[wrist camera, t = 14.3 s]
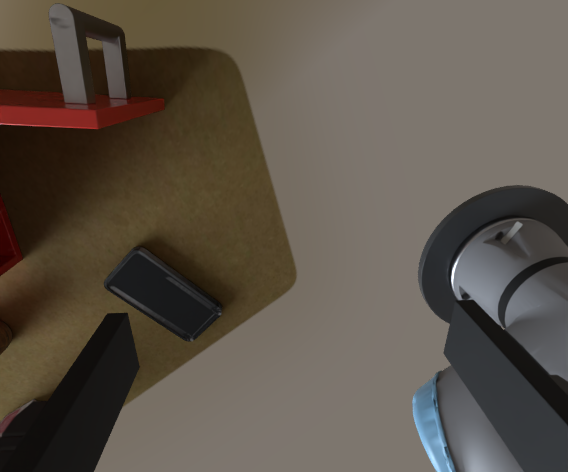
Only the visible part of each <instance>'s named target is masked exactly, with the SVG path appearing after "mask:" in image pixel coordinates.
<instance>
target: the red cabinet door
mask: <svg viewBox="0 0 568 472" xmlns="http://www.w3.org/2000/svg"><path fill="white" fill-rule="evenodd" d="M49 20H50V25H51V31H52V36H53V41H54V47H55V52H56V58H57V63H58V68H59V74H60V79H61V85H62V90H63V93H59V92H42V91H24V90H6V89H0V124H2V125H23V126H44V127H65V128H86V129H100V128H103V127H107V126H110V125H114V124H117V123H120V122H124V121H127V120H131V119H134V118H138V117H141V116H144V115H148V114H151V113H155V112H158V111H162V110H165V105H164V98H149V97H132V96H131V87H130V78H129V69H128V60H127V51H126V43H125V34H124V32H123V30H122V29H121V28H120V27H119V26H116V25H114V24H111V23H109V22H106V21H104V20H101V19H98V18H96V17H94V16H91V15H89V14H86V13H84V12H81V11H78V10H76V9H73V8H71V7H68V6H66V5H63V4H59V3H57V4H54V5H52V6H51V7H50V9H49ZM86 37H89V38H92V39H96V40H100V41H102V45H103V53H104V60H105V67H106V75H107V82H108V89H109V95H95V93H94V87H93V80H92V74H91V67H90V61H89V54H88V47H87V41H86Z"/></svg>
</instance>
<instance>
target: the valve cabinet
mask: <svg viewBox="0 0 568 472" xmlns="http://www.w3.org/2000/svg"><path fill="white" fill-rule="evenodd" d="M22 259H23V257H22V254H21V251H20V248H19V245H18V242H17V240H16V237H15V234H14V231H13V228H12V225H11V222H10V220H9V217H8V214H7V211H6V208H5V205H4V202H3V200H2V197H1V194H0V276H1V275H3V274H4V273H5V272H7V271H8V270H9V269H11V268H12V267H13V266H15V265H16V264H17V263H18V262H20V261H21V260H22Z"/></svg>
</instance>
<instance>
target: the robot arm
mask: <svg viewBox="0 0 568 472" xmlns="http://www.w3.org/2000/svg"><path fill="white" fill-rule="evenodd" d="M448 280H449V286H450V289H451V291H452V293H453V294H454V296H455V297H456V298H457V299H458V300H455V304H454V309H453V313H452V318H451V322H450V327H449V331H448V335H447V340H446V344H445V349H444V355H445V356H446V358H447V359H448V361H449V362H450V364H451V366H449V367H448V368H446V369H445V370H443V371H439V372H438V373H436V374H435V376H434V377H433V378H432V379H431V380H429V381H428V382H427V383H426V384H424V385H423V386H422V387H420V388H419V389H418V390H417V391H416V393H415V395H414V397H413V415H414V420H415V424H416V427H417V430H418V433H419V436H420V438H421V441H422V443H423V446H424V448H425V450H426V452H427V454H428V456H429V458H430V460H431V462H432V464H433V466H434V468H435V470H436V471H437V472H568V247H567V245H566V244H565V243H564V242H563V241H562V239H561V238H560V237H559V236H558V234H557V233H556V232H554V231H553V230H552V229H551V228H549V227H548V226H547V225H545V224H543V223H541V222H539V221H537V220H535V219H533V218H530V217H525V216H507V217H502V218H498V219H495V220H493V221H490V222H488V223H486V224H484V225H482V226H481V227H479V228H478V229H476V230H475V231H473V232H472V233H471V234H470V235H469V236H468V237H467V238H466V239H465V240H464V241H463V242H462V243H461V244H460V246H459V247H458V249H457V250H456V252H455V253H454V255H453V258H452V260H451V263H450V266H449V272H448ZM499 325H500V326H502V327H504V328H505V329H504V330H503V329H502V328H501V327H500V326H499ZM139 367H140V366H139V362H138V357H137V353H136V348H135V344H134V339H133V335H132V331H131V326H130V322H129V317H128V313H109V314H107V315H106V316H105V318H104V319H103V321H102V322H101V324H100V325H99V327H98V328H97V330H96V331H95V333H94V334H93V335H92V337H91V338H90V340H89V341H88V343H87V344H86V346H85V347H84V349H83V350H82V352H81V353H80V354H79V356H78V357H77V359H76V360H75V362H74V363H73V365H72V366H71V368H70V369H69V371H68V372H67V374H66V375H65V376H64V378H63V379H62V381H61V382H60V384H59V385H58V387H57V388H56V390H55V391H54V393H53V394H52V396H51V397H50V398H49V400H48V401H35V402H32V403H30V404H29V405H28V406H27V407H26V408H24V409H23V410H22V411H21V412H20V413H19V414H17V415H16V416H15V417H14V418H13V420H12V421H11V422H10V424H9V425H8V426H7V428H6V429H5V430H4V432H3V433H2V436H1V437H0V472H94V470H95V468H96V465H97V463H98V461H99V459H100V457H101V454H102V452H103V449H104V447H105V445H106V443H107V441H108V438H109V436H110V434H111V431H112V429H113V426H114V425H115V422H116V420H117V418H118V415H119V413H120V411H121V409H122V406H123V404H124V402H125V399H126V397H127V395H128V393H129V390H130V388H131V386H132V383H133V381H134V379H135V377H136V374H137V372H138V370H139Z"/></svg>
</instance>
